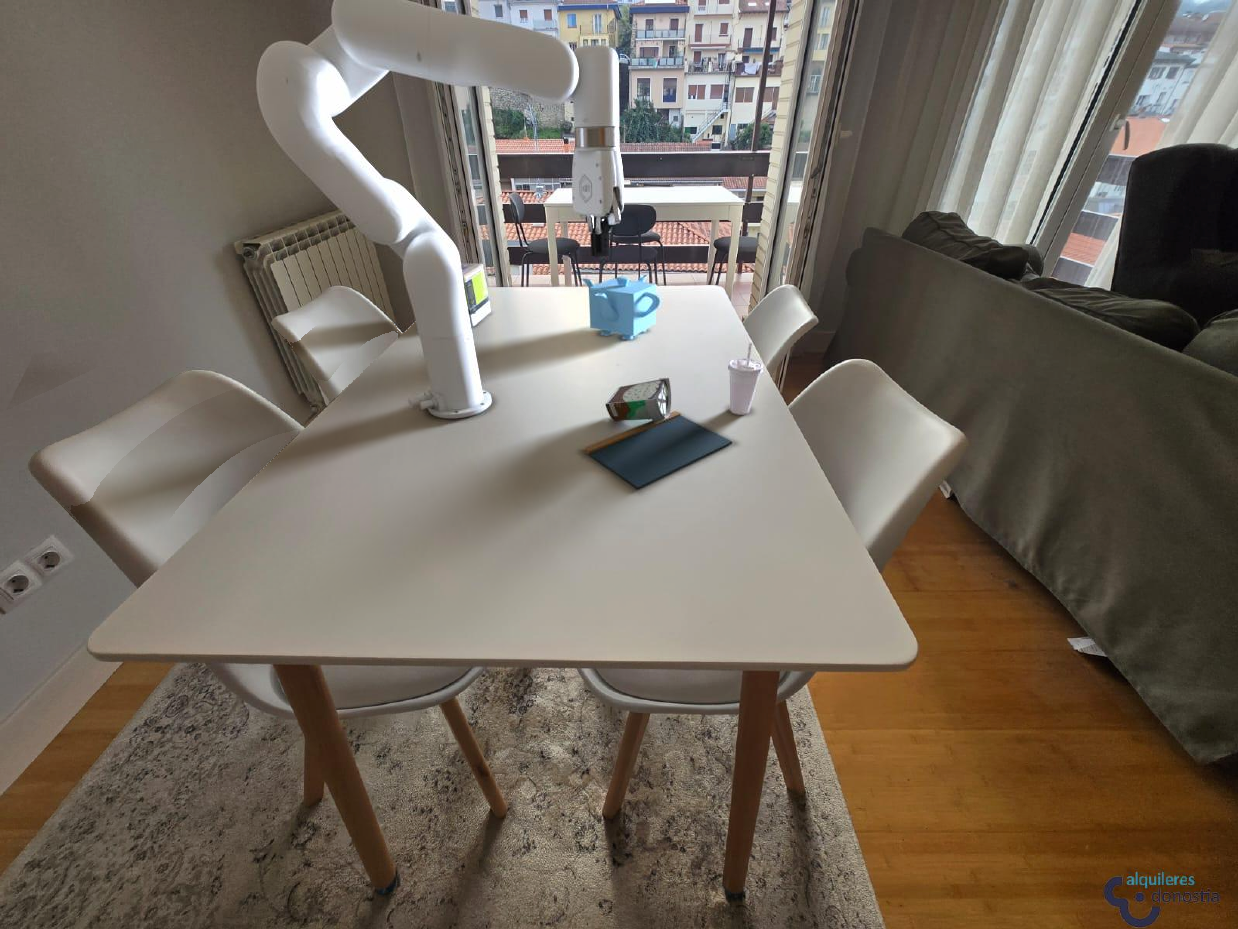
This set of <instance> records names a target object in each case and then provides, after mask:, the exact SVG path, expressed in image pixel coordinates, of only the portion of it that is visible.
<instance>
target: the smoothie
mask: <svg viewBox="0 0 1238 929" xmlns="http://www.w3.org/2000/svg"><path fill="white" fill-rule="evenodd" d="M752 347H753V342H748V348H747V355H746V358H743V357H742V358H733V359H731V360H730V361H729V362H728V366H727V370H728V371H729V411H730V412H731V413H732V414H735V415H738V416H739V415H740V416H741V415H743V416H744V415H747V414H749V413H750V410H751V406H752V403H753V399H754V396H755V392H756V389H757V385H758V382H759V379H760V374H762V372H763V368H764V365H763V363H762V362H760V361H758V360H756V359H753V358H751V354H752Z"/></svg>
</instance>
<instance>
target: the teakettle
mask: <svg viewBox="0 0 1238 929" xmlns="http://www.w3.org/2000/svg"><path fill="white" fill-rule="evenodd" d="M647 277H648V274H643V275H640V276H639V277H638V279H637V281H636V280H630V278H629V277H628V276H618V277H616V278H615V277H613V278H611V279H608V280H605V281H602V282H600V283H597V284H595V283H594V281H593V280H592V279H589V278H581V281H582V282H584V283H585V284H586V286H587V289H588V302H589V304H588V305H589V306H588V307H589V325H590V326H589V327H590V328H591V329H595V330H600V333H599V335H601V336H604V337H605V336H610V335H611V334H612V333H616V334H620V335H621V338H622V340H624V341H631V340H633V339H634V337H635V336H636V335H638V334H640V333H645V332H647V329H649V328H651V327H653V326H655V325H656V323H657V310H658V308H659V306H661V302H662V299H661V297H660V296H659V295H658V294H657V291H658V290H657V286H658V285H657V284H656V283H650V282H645V281H646V279H647Z"/></svg>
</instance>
